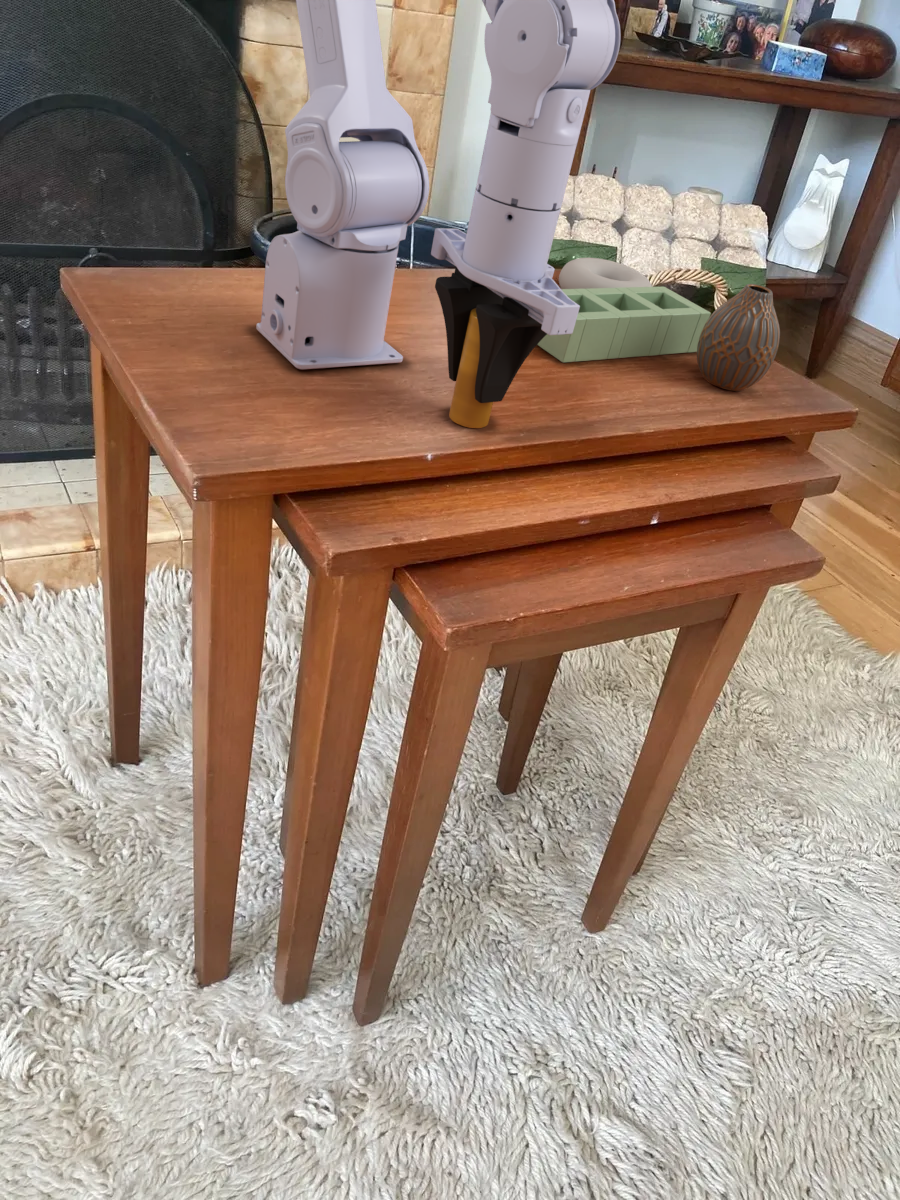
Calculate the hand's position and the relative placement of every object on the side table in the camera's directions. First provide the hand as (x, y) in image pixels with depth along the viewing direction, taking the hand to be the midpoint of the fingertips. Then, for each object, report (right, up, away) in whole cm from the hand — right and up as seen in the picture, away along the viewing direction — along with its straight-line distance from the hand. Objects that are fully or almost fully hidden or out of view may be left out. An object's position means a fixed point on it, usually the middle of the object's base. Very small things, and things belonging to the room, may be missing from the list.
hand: (475, 389), depth 71 cm
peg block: (+13, +9, +21) cm, 27 cm away
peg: (0, -2, +1) cm, 2 cm away
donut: (+14, +16, +31) cm, 37 cm away
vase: (+23, +5, +18) cm, 30 cm away
